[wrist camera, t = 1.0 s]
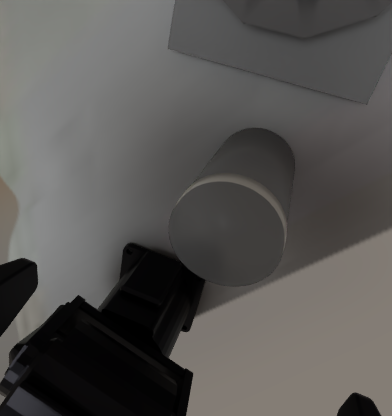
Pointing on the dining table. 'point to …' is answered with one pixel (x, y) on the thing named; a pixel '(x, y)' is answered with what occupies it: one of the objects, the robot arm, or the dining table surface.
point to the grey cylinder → (236, 210)
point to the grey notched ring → (291, 40)
